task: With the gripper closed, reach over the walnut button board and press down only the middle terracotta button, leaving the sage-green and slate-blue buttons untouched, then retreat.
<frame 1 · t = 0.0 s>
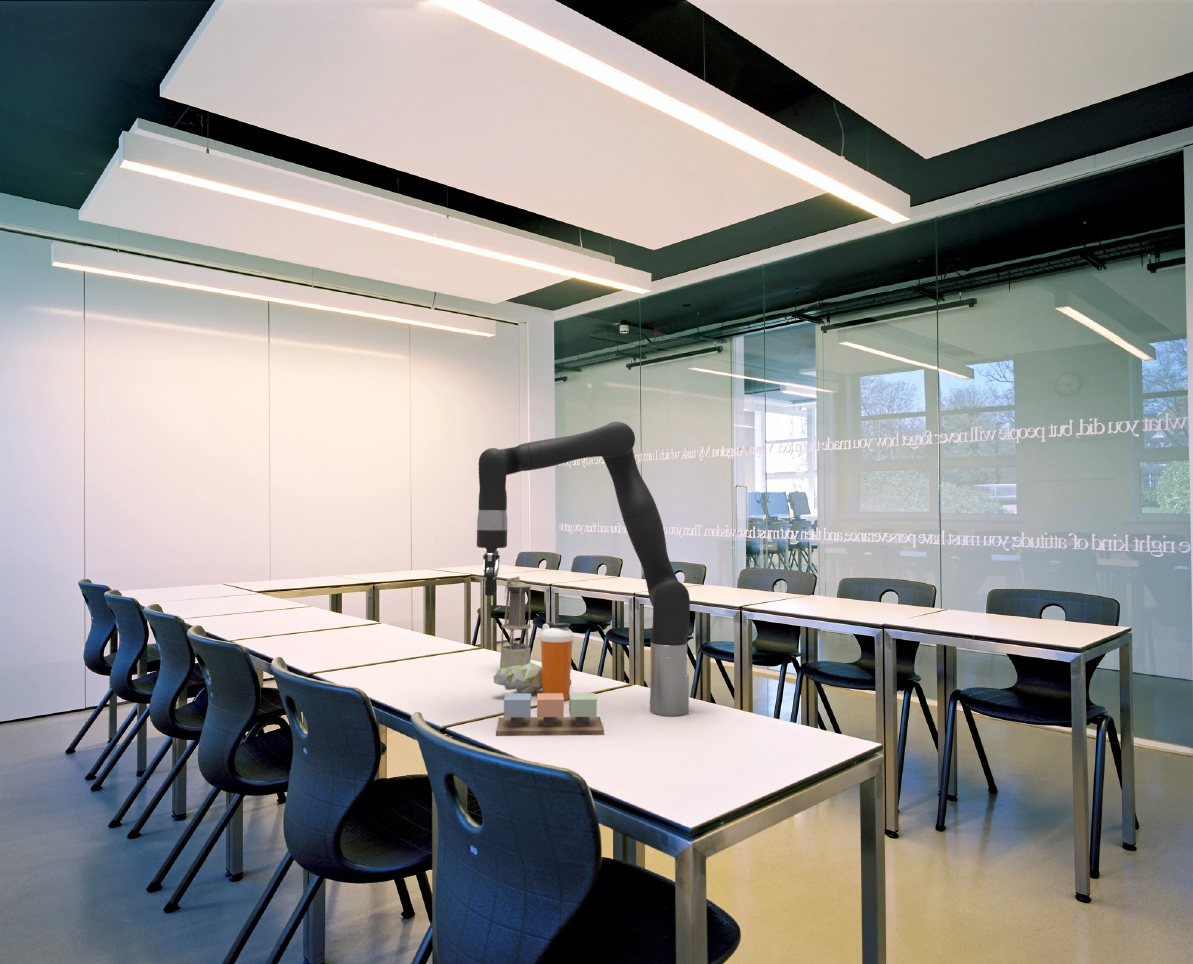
hand: (490, 593, 182), 29 cm above the table, fingers open, 8 cm apart
button sage: (582, 704, 169), point 5 cm above the table, slide at 0.0 cm
button terracotta: (550, 704, 169), point 5 cm above the table, slide at 0.0 cm
lamp: (511, 674, 226), on the table
shaker bottle: (555, 699, 196), on the table
button slate: (517, 705, 168), point 5 cm above the table, slide at 0.0 cm
board: (549, 728, 168), on the table
decorative object: (532, 693, 202), on the table
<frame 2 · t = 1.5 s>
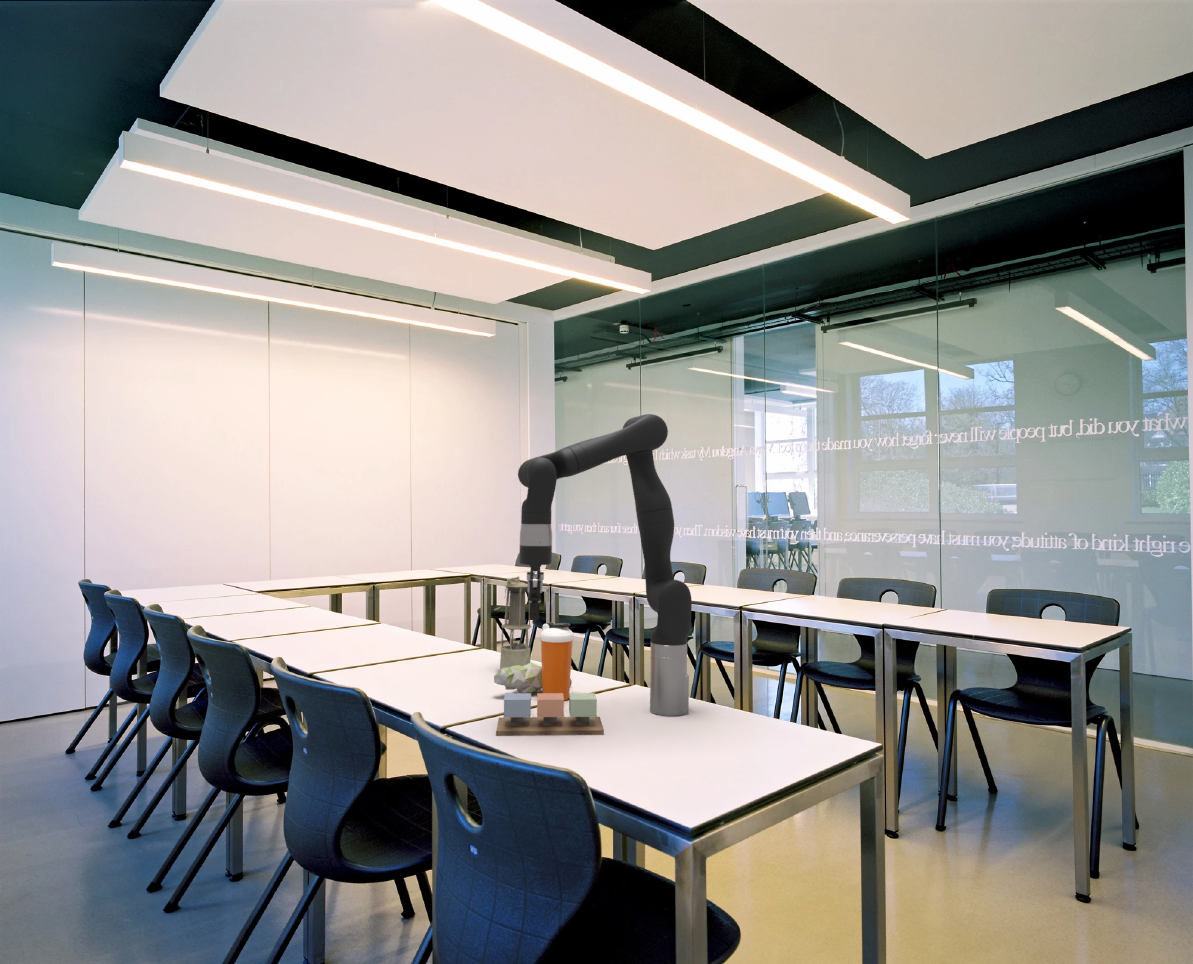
hand: (534, 618, 169), 25 cm above the table, fingers closed
nothing on the table moved.
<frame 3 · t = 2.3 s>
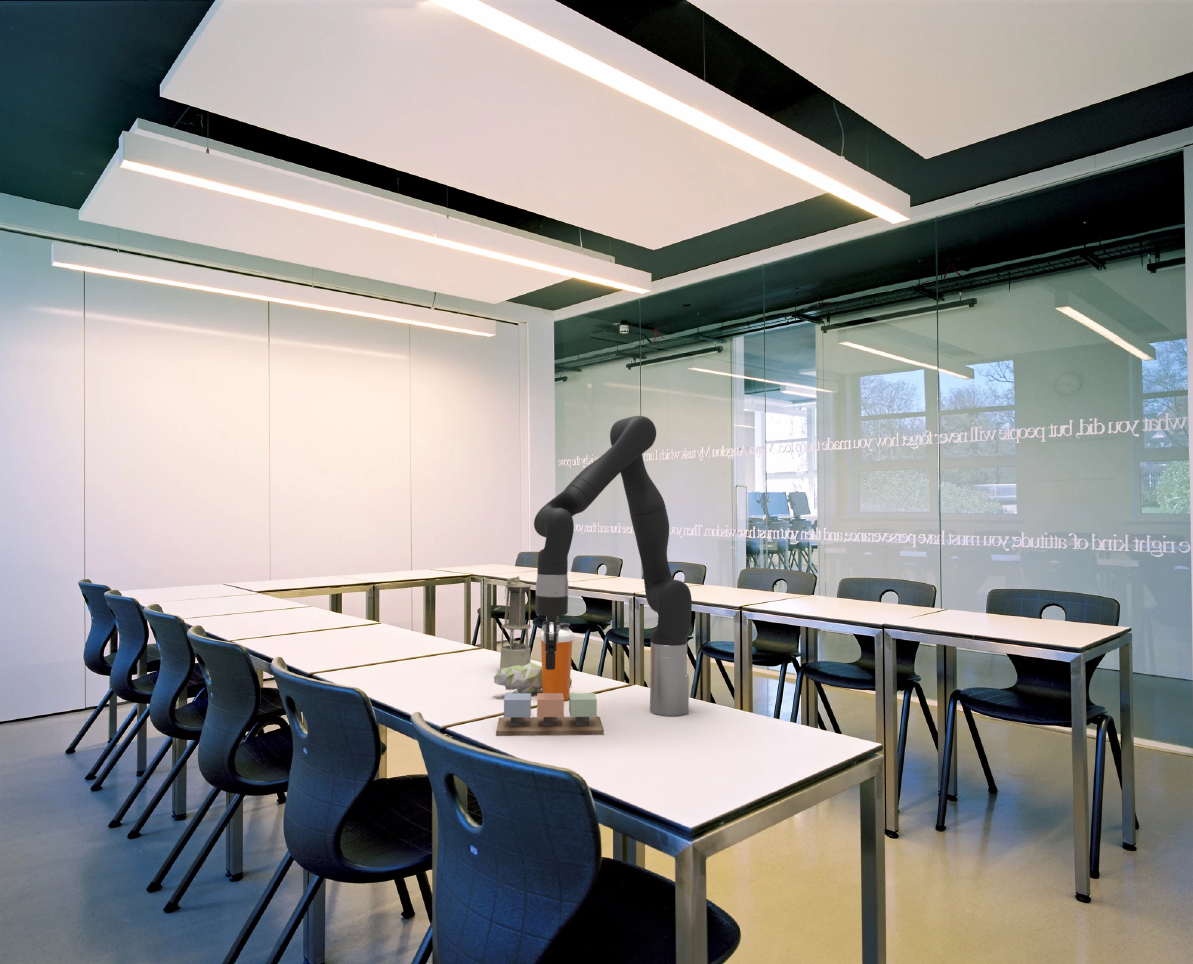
hand: (550, 668, 169), 13 cm above the table, fingers closed
nothing on the table moved.
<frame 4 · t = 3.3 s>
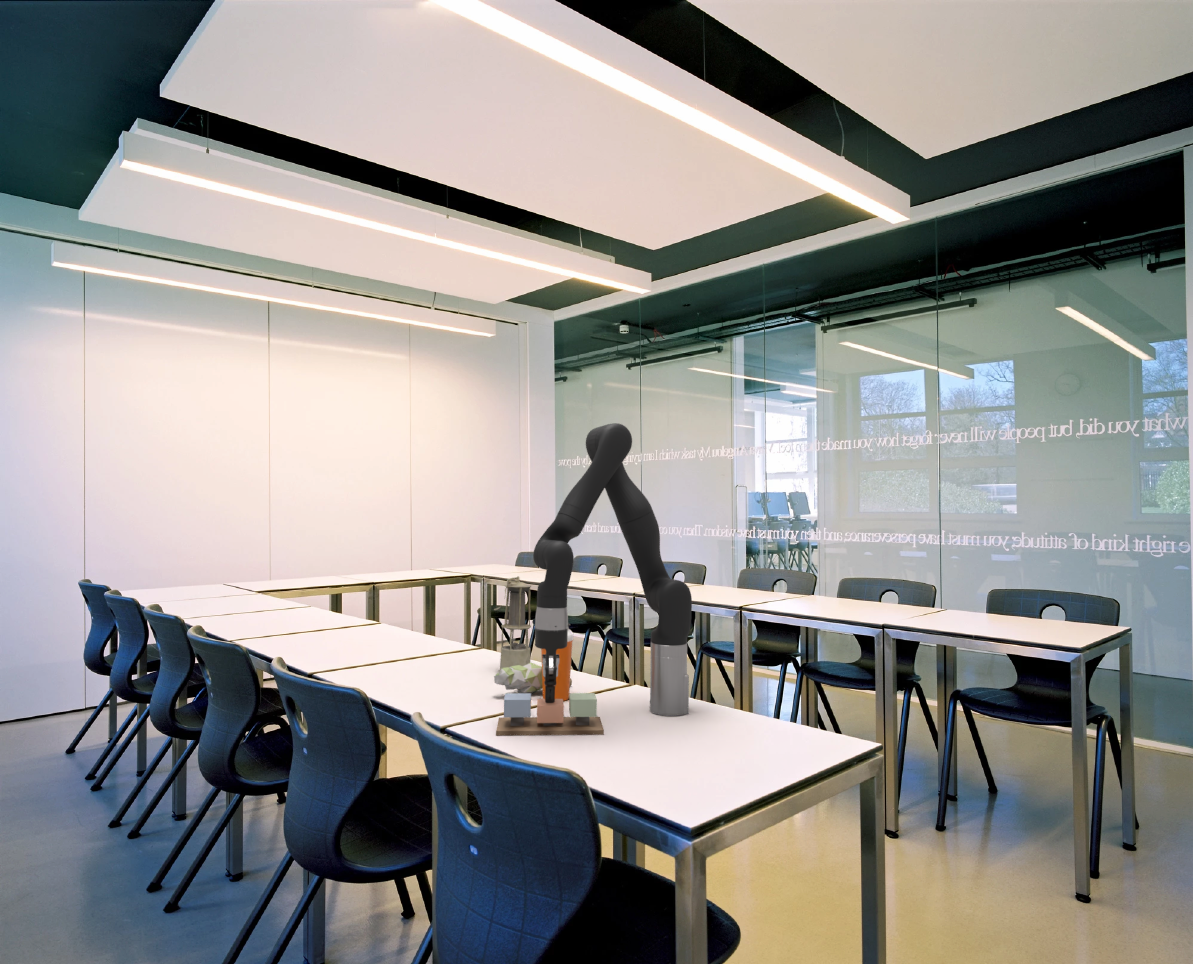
hand: (549, 702, 169), 6 cm above the table, fingers closed
button terracotta: (550, 710, 168), point 4 cm above the table, slide at 1.3 cm, touching gripper
everything else where it was.
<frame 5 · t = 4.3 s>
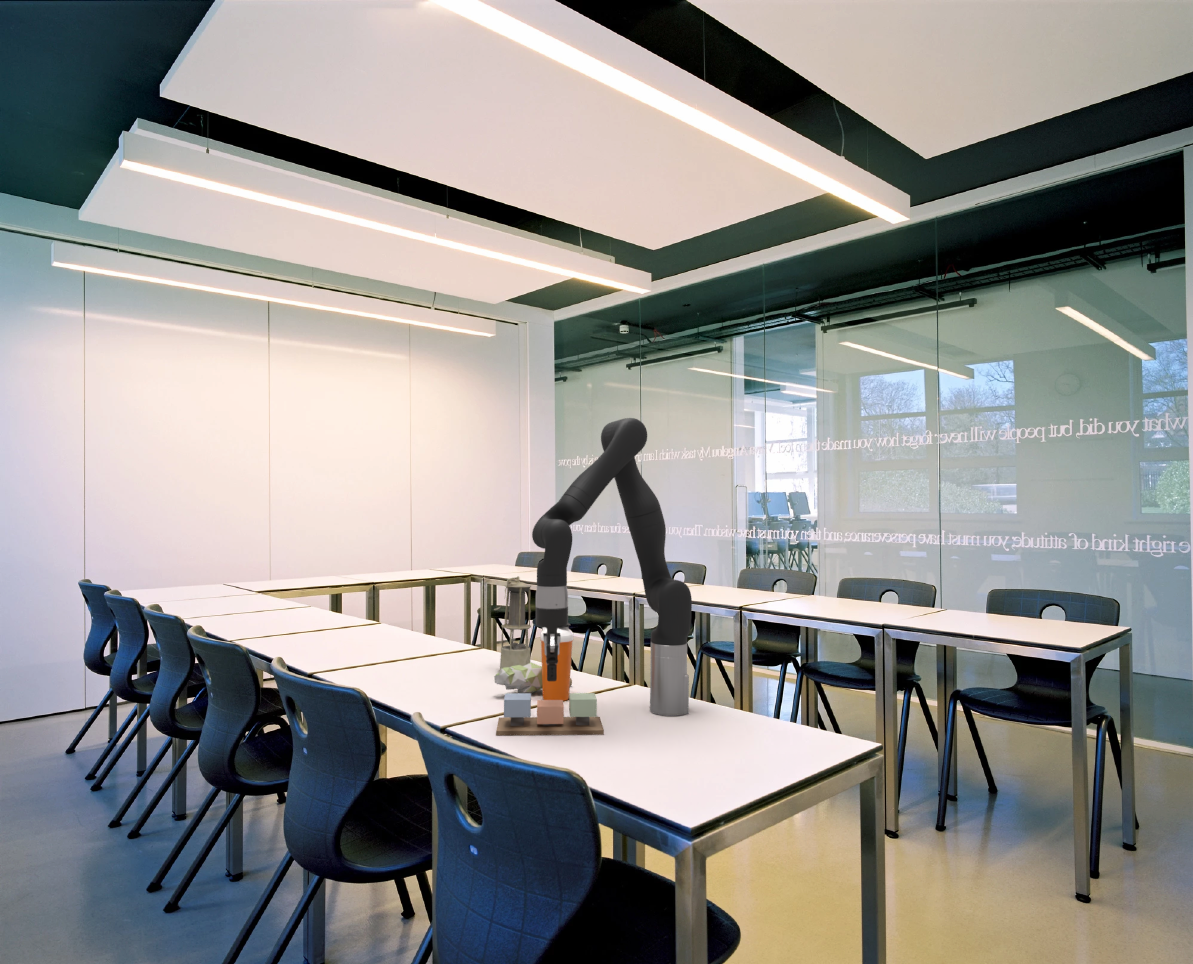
hand: (551, 680, 169), 11 cm above the table, fingers closed
button terracotta: (550, 711, 168), point 4 cm above the table, slide at 1.5 cm
everything else where it was.
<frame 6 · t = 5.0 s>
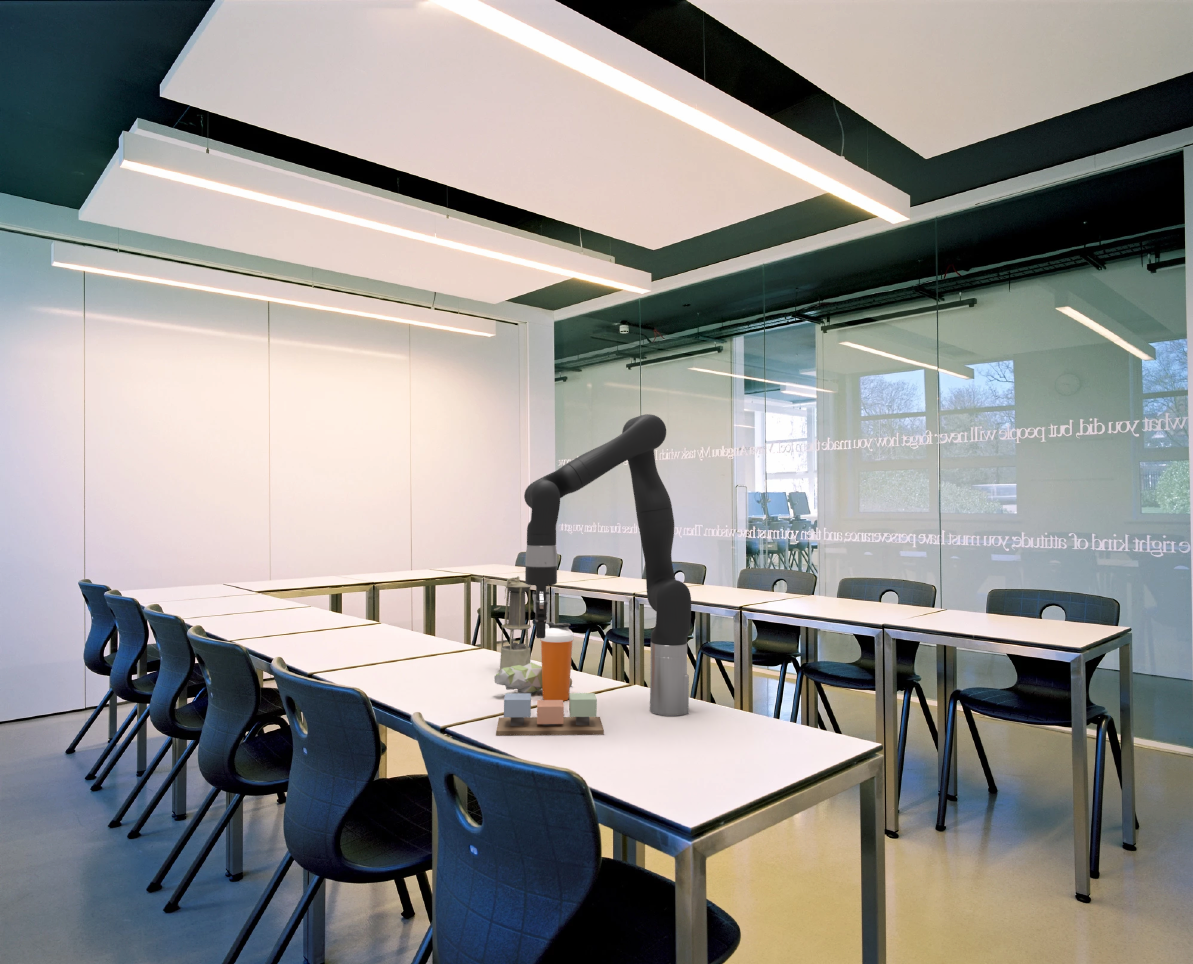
hand: (540, 637, 173), 20 cm above the table, fingers closed
nothing on the table moved.
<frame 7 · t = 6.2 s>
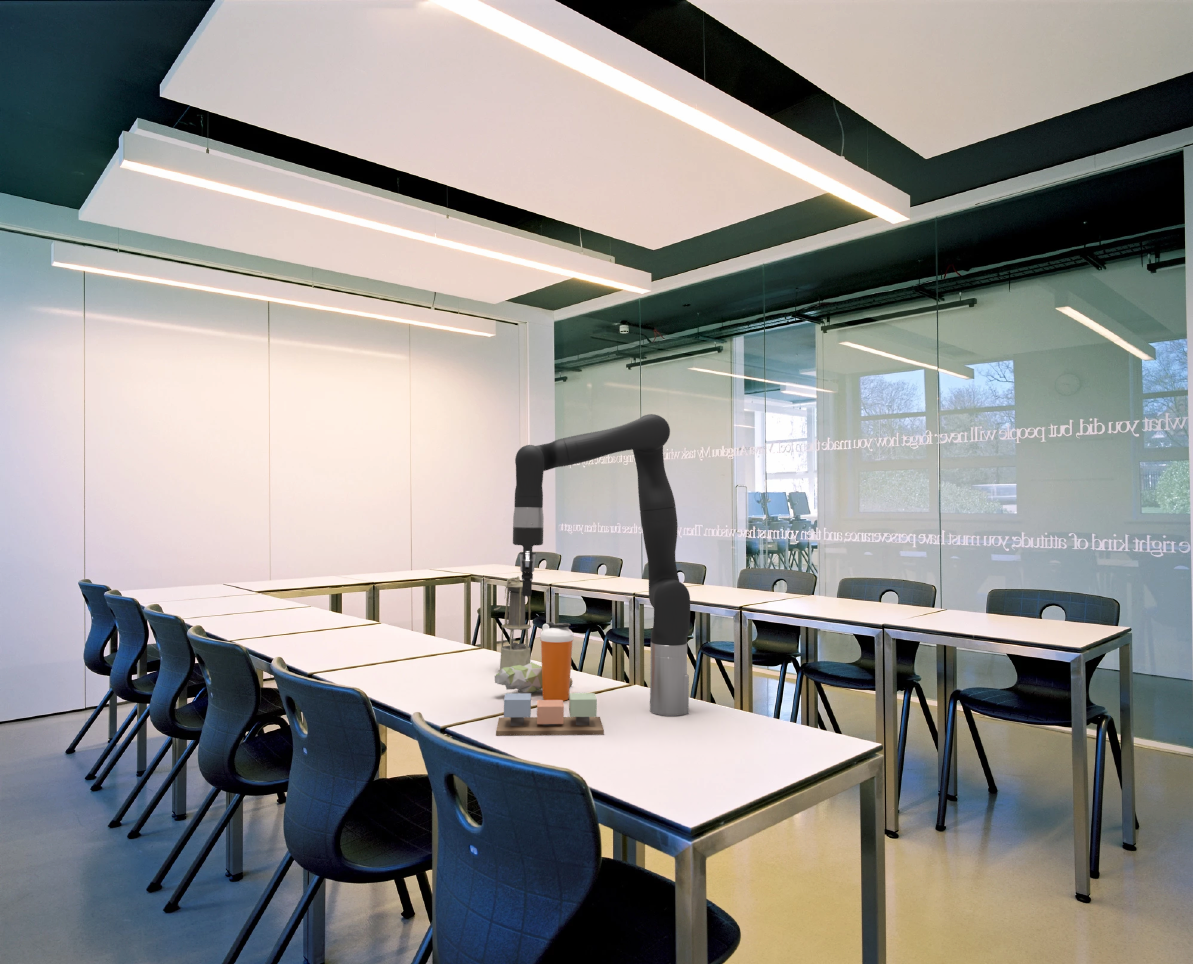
hand: (526, 595, 181), 29 cm above the table, fingers closed
nothing on the table moved.
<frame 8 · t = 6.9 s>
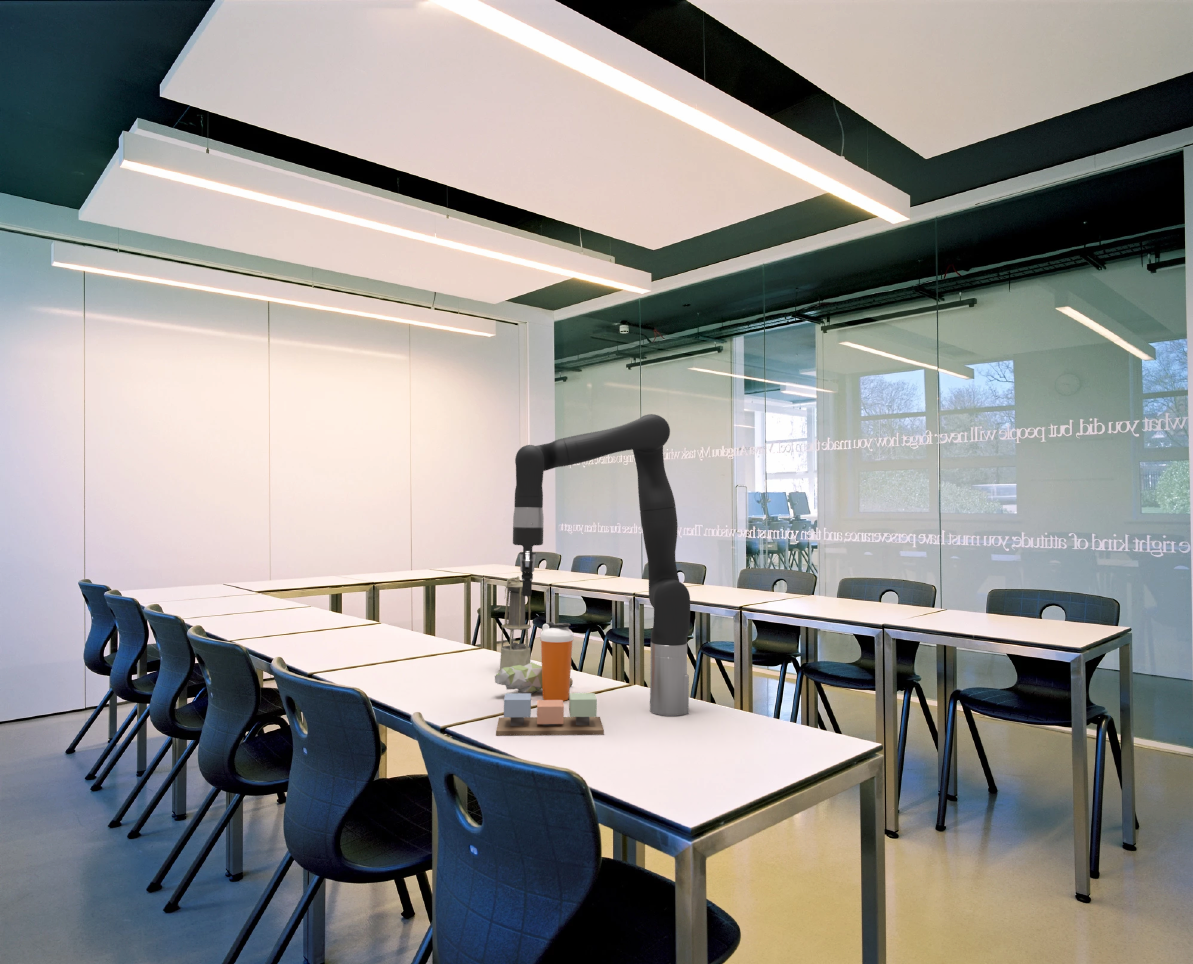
hand: (526, 595, 181), 29 cm above the table, fingers closed
nothing on the table moved.
at the end: button terracotta slide at 1.5 cm; button sage slide at 0.0 cm; button slate slide at 0.0 cm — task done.
